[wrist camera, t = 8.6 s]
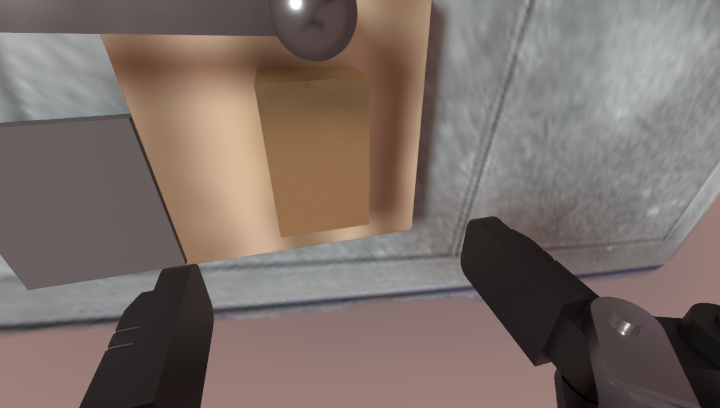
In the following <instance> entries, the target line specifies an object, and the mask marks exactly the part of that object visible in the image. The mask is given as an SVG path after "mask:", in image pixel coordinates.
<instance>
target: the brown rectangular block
mask: <svg viewBox="0 0 720 408" xmlns="http://www.w3.org/2000/svg"><path fill="white" fill-rule="evenodd" d="M254 88H255V94H256V99H257V105H258V111H259V116H260V122H261V128H262V133H263V139H264V145H265V150H266V156H267V162H268V167H269V173H270V179H271V184H272V190H273V196H274V202H275V207H276V213H277V219H278V224H279V230H280V236H281V238H283V237H289V236H296V235H302V234H309V233H315V232H322V231H329V230H335V229H342V228H348V227H355V226H361V225H368V224H369V136H370V77H368V76H367V75H365V74H364V73H362V72H361V71H359V70H357V69H356V68H354V67H353V66H351V65H340V66H320V67H299V68H278V69H258V70H257V71H256V76H255V81H254Z"/></svg>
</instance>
